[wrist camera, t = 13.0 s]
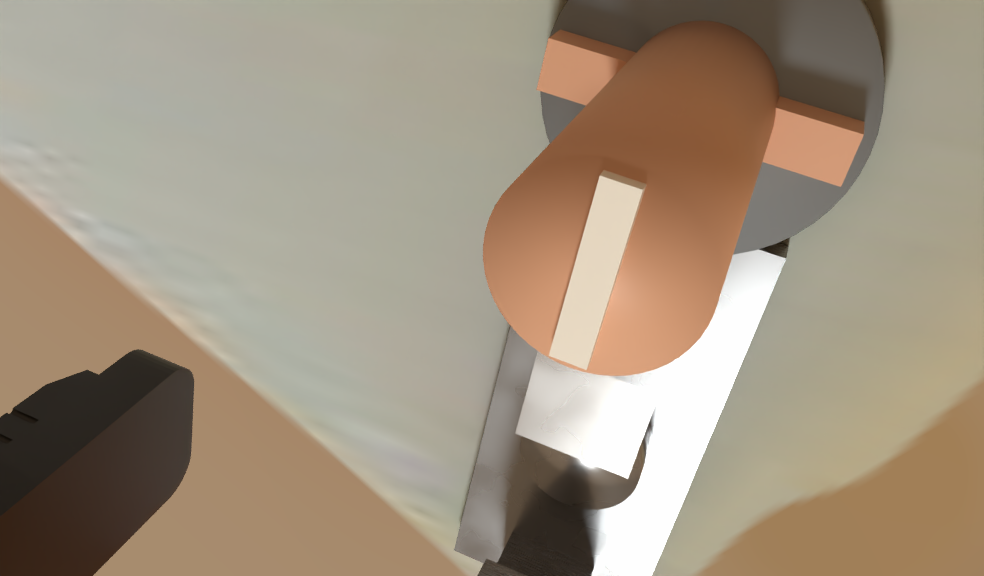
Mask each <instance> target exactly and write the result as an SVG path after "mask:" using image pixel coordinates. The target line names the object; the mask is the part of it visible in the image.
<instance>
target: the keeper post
mask: <svg viewBox="0 0 984 576" xmlns="http://www.w3.org/2000/svg"><path fill="white" fill-rule="evenodd" d="M787 251H788V246H787V245H784V244H781V243H776V244H774V245H770V246H767V247H764V248H761V249H758V250H755V251H750V252H744V253H739V254H733V256H732V260H731V263H730V266H729V269H728V272H727V275H726V279H725V282H724V285H723V288H722V291H721V294H720V297H719V301H718V304H717V307H716V310H715V313H714V315H713V318H712V320H711V322H710V324H709V326H708V327H707V329H706V330H705V332H704V333H703V335H702V336H701V338H700V339H699V340H698V341H697V342H696V343H695V344H694V345H693V346H692V347H691V348H690V349H689V350H688V351H687V352H685V353H684V354H683V355H682V356H680V357H679V358H677V359H676V360H674V361H672V362H670V363H669V364H667V365H665V366H662V367H660V368H657V369H655V370H652V371H648V372H644V373H641V374H634V375H627V376H606V375H596V374H591V373H586V372H582V371H579V370H576V369H572V368H569V367H567V366H565V365H562V364H560V363H558V362H556V361H554V360H552V359H550V358H548V357H547V356H545V355H543V354H541V353H540V352H539V351H537V350H536V349H535V348H533V347H532V346H531V345H529V344H528V343H527V342H526V341H525V340H524V339H523V338H522V337H520V336H519V335H518V334H517V332H516V331H515V330H514V329H513V328H512V327H511V326H510V330H509V334H508V338H507V342H506V346H505V350H504V354H503V358H502V362H501V366H500V370H499V374H498V378H497V382H496V386H495V390H494V394H493V398H492V402H491V405H490V409H489V413H488V417H487V421H486V425H485V429H484V433H483V437H482V441H481V445H480V449H479V453H478V457H477V461H476V465H475V469H474V473H473V477H472V481H471V485H470V489H469V493H468V497H467V501H466V505H465V509H464V513H463V517H462V521H461V525H460V529H459V533H458V537H457V541H456V545H455V549H454V550H455V551H457V552H459V553H462V554H464V555H466V556H469V557H471V558H473V559H475V560H478V561H480V562H482V563H484V564H483V566H482V568H481V570H480V572H479V574H478V576H652V574H653V571H654V569H655V567H656V564H657V562H658V559H659V557H660V555H661V552H662V550H663V548H664V545H665V543H666V541H667V538H668V536H669V533H670V531H671V529H672V526H673V524H674V522H675V519H676V517H677V515H678V512H679V510H680V508H681V505H682V503H683V500H684V498H685V496H686V493H687V491H688V489H689V486H690V484H691V482H692V479H693V477H694V475H695V472H696V470H697V467H698V465H699V463H700V460H701V458H702V456H703V453H704V451H705V449H706V446H707V444H708V442H709V439H710V437H711V434H712V432H713V430H714V427H715V425H716V423H717V420H718V418H719V416H720V413H721V411H722V409H723V406H724V404H725V401H726V399H727V397H728V394H729V392H730V390H731V387H732V385H733V383H734V380H735V378H736V375H737V373H738V371H739V368H740V366H741V364H742V361H743V359H744V357H745V354H746V352H747V350H748V347H749V345H750V342H751V340H752V338H753V335H754V333H755V331H756V328H757V326H758V324H759V321H760V319H761V317H762V314H763V312H764V309H765V307H766V305H767V302H768V300H769V298H770V295H771V293H772V291H773V288H774V286H775V284H776V281H777V279H778V276H779V274H780V272H781V269H782V267H783V265H784V262H785V260H786V256H787Z"/></svg>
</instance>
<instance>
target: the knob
mask: <svg viewBox="0 0 984 576" xmlns="http://www.w3.org/2000/svg"><path fill="white" fill-rule="evenodd" d="M537 90H539V91H542V92H545V93H548V94H551V95H555V96H558V97H561V98H564V99H567V100H570V101H573V102H576V103H580V104H583V105H586V106H585V107H584V108H583V110H582V111H581V112H580V113H579V114H578V115H577V116H576V117H575V118H574V119H573V120H572V121H571V122H570V123H569V124H568V125H567V126H566V127H565V129H564V130H563V131H562V132H561V133H560V134H559V135H558V136H557V137H556V138H555V139H554V140H553V141H552V142H551V143H550V144H549V145H548V146H547V147H546V149H545V150H544V151H543V152H542V153H541V154H540V155H539V156H538V157H537V158H536V159H535V160H534V161H533V162H532V163H531V164H530V165H529V166H528V168H527V169H526V170H525V171H524V172H523V173H522V174H521V175H520V176H519V177H518V178H517V179H516V180H515V181H514V182H513V183H512V184H511V186H510V187H509V188H508V189H507V190H506V191H505V192H504V193H503V195H502V196H501V198H500V199H499V201H498V202H497V204H496V205H495V207H494V209H493V211H492V213H491V216H490V218H489V221H488V224H487V227H486V231H485V237H484V244H483V261H484V269H485V275H486V278H487V282H488V286H489V289H490V291H491V294H492V296H493V299H494V301H495V303H496V304H497V306H498V308H499V310H500V312H501V313H502V315H503V316H504V318H505V319H506V320H507V322H508V323H509V324H510V326H511V327H512V328H513V329H514V330H515V331H516V332H517V334H518V335H519V336H520V337H522V338H523V339H524V340H525V341H526V342H527V343H528V344H529V345H531V346H532V347H533V348H535V349H536V350H537V351H539V352H540V353H541V354H543V355H545V356H547V357H548V358H550V359H552V360H554V361H556V362H558V363H560V364H562V365H565V366H567V367H569V368H572V369H576V370H579V371H582V372H586V373H591V374H596V375H606V376H627V375H634V374H641V373H644V372H648V371H652V370H655V369H657V368H660V367H662V366H665V365H667V364H669V363H670V362H672V361H674V360H676V359H677V358H679V357H680V356H682V355H683V354H684V353H685V352H687V351H688V350H689V349H690V348H691V347H692V346H693V345H694V344H695V343H696V342H697V341H698V340H699V339H700V338H701V336H702V335H703V333H704V332H705V330H706V329H707V327H708V326H709V324H710V322H711V320H712V318H713V315H714V313H715V310H716V307H717V304H718V301H719V297H720V294H721V291H722V288H723V285H724V282H725V279H726V275H727V272H728V269H729V266H730V263H731V260H732V256H733V253H734V250H735V247H736V244H737V241H738V237H739V234H740V231H741V228H742V225H743V222H744V218H745V215H746V212H747V209H748V206H749V203H750V200H751V196H752V193H753V190H754V187H755V184H756V181H757V177H758V174H759V171H760V168H761V165H762V162H764V163H767V164H771V165H774V166H777V167H780V168H783V169H786V170H789V171H792V172H796V173H799V174H802V175H805V176H808V177H811V178H814V179H817V180H821V181H824V182H827V183H830V184H833V185H836V186H839V187H841V186H842V184H843V181H844V179H845V177H846V175H847V172H848V170H849V168H850V165H851V163H852V161H853V159H854V156H855V154H856V152H857V150H858V147H859V145H860V143H861V140H862V138H863V136H864V123H865V122H863V121H860V120H857V119H854V118H850V117H847V116H844V115H840V114H837V113H834V112H830V111H827V110H824V109H821V108H817V107H814V106H811V105H807V104H804V103H801V102H798V101H794V100H791V99H788V98H784V97H781V96H779V85H778V80H777V76H776V73H775V70H774V68H773V65H772V63H771V61H770V60H769V58H768V56H767V55H766V53H765V52H764V51H763V50H762V48H761V47H760V46H759V45H758V44H757V43H756V42H755V41H754V40H753V39H752V38H750V37H749V36H748V35H746V34H745V33H743V32H742V31H740V30H738V29H736V28H734V27H731V26H729V25H726V24H723V23H718V22H714V21H690V22H684V23H680V24H677V25H674V26H671V27H669V28H667V29H665V30H663V31H661V32H659V33H658V34H656V35H655V36H653V37H652V38H651V39H650V40H648V41H647V42H646V43H645V44H644V45H643V46H642V47H641V48H640V49H639V50H638V51H637V53H636V52H633V51H629V50H626V49H623V48H620V47H616V46H613V45H610V44H606V43H603V42H600V41H597V40H593V39H590V38H587V37H583V36H580V35H577V34H573V33H570V32H567V31H564V30H559V31H558V32H556V33H555V34H553V35H552V36H551V37H549V38H548V43H547V47H546V51H545V56H544V60H543V64H542V69H541V73H540V77H539V82H538V86H537Z"/></svg>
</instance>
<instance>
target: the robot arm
mask: <svg viewBox="0 0 984 576" xmlns="http://www.w3.org/2000/svg"><path fill="white" fill-rule="evenodd" d="M193 395H194V378H193V374H192V372H191V371H190V370H188V369H186V368H184V367H182V366H179V365H177V364H174V363H172V362H169V361H167V360H165V359H162V358H160V357H158V356H155V355H153V354H150V353H148V352H145V351H143V350H134V351H132V352H129V353H128V354H126V355H125V356H124V357H122V358H121V359H119V360H118V361H117V362H115V363H114V364H113V365H111V366H110V367H109V368H107V369H106V370H105V371H103V372H102V373H101V374H99V375H98V374H96V373H93V372H91V371H89V370H86V371H83V372H80V373H77V374H74V375H72V376H69V377H66V378H64V379H61V380H58V381H55V382H52V383H50V384H47V385H45V386H43V387H42V388H41V389H39V390H38V391H36V392H35V393H34V394H32V395H31V396H29V397H28V398H27V399H25V400H24V401H22V402H21V403H20V404H18V405H17V406H15V407H14V408H13V411H12V412H11V413H10V414H8V413H6V414H4V415H3V416H1V417H0V576H93V575H94V574H95V573H96V572H97V571H98V570H99V569H100V568H101V567H102V566H103V565H104V564H105V563H106V562H107V561H108V560H109V559H110V558H111V557H112V556H113V555H114V554H115V553H116V552H117V551H118V550H119V549H120V548H121V547H122V546H123V545H124V544H125V543H126V542H127V541H128V539H130V537H131V536H132V535H134V533H135V532H136V531H137V530H138V529H139V528H140V527H141V526H142V525H143V524H144V523H145V522H146V521H147V520H148V519H149V518H150V517H151V516H152V515H153V514H154V513H155V512H156V511H157V510H158V509H159V508H160V507H161V506H162V505H163V504H164V503H165V502H166V501H167V500H168V499H169V498H170V497H171V496H172V495H173V493H174V492H175V491H176V489H177V487H178V486H179V485H180V483H181V481H182V479H183V477H184V475H185V473H186V470H187V468H188V465H189V462H190V456H191V442H192V419H193Z"/></svg>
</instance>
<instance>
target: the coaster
mask: <svg viewBox="0 0 984 576" xmlns="http://www.w3.org/2000/svg"><path fill="white" fill-rule="evenodd" d="M690 21H714V22H718V23H723V24H726V25H729V26H731V27H734V28H736V29H738V30H740V31H742V32H743V33H745V34H746V35H748V36H749V37H750V38H752V39H753V40H754V41H755V42H756V43H757V44H758V45H759V46H760V47H761V48H762V50H763V51H764V52H765V53H766V55H767V56H768V58H769V60H770V61H771V63H772V65H773V68H774V70H775V73H776V76H777V80H778V85H779V96H781V97H784V98H788V99H791V100H794V101H798V102H801V103H804V104H807V105H811V106H814V107H817V108H821V109H824V110H827V111H830V112H834V113H837V114H840V115H844V116H847V117H850V118H854V119H857V120H860V121H863V122H865V123H864V136H863V138H862V140H861V143H860V145H859V147H858V150H857V152H856V154H855V156H854V159H853V161H852V163H851V165H850V168H849V170H848V172H847V175H846V177H845V179H844V181H843V184H842V186H841V187H839V186H836V185H833V184H830V183H827V182H824V181H821V180H817V179H814V178H811V177H808V176H805V175H802V174H799V173H796V172H792V171H789V170H786V169H783V168H780V167H777V166H774V165H771V164H767V163H764V162H762V165H761V168H760V171H759V174H758V177H757V181H756V184H755V187H754V190H753V193H752V196H751V200H750V203H749V206H748V209H747V212H746V215H745V218H744V222H743V225H742V228H741V231H740V234H739V237H738V241H737V244H736V247H735V250H734V253H733V254H739V253H744V252H750V251H755V250H758V249H761V248H764V247H767V246H770V245H774V244H776V243H779V242H781V241H783V240H785V239H787V238H789V237H791V236H794V235H796V234H797V233H799V232H801V231H802V230H804V229H805V228H807V227H808V226H810V225H812V224H813V223H815V222H816V221H817V220H818V219H820V218H821V217H822V216H823V215H824V214H826V213H827V212H828V211H829V210H831V209H832V208H833V207H834V205H835V204H836V203H837V202H838V201H839V200H840V199H841V198H842V197H843V196H844V195H845V194H846V193H847V191H848V190H849V189H850V187H851V186H852V184H853V183H854V182H855V180H856V179H857V177H858V176H859V175H860V173H861V171H862V169H863V167H864V165H865V163H866V161H867V160H868V158H869V156H870V154H871V151H872V148H873V145H874V143H875V140H876V137H877V135H878V131H879V126H880V122H881V117H882V112H883V102H884V67H883V54H882V49H881V45H880V40H879V36H878V31H877V29H876V26H875V24H874V21H873V18H872V16H871V13H870V11H869V9H868V7H867V5H866V3H865V2H864V0H568V1H567V3H566V4H565V6H564V8H563V9H562V11H561V13H560V14H559V17H558V19H557V21H556V23H555V25H554V28H553V30H552V32H551V35H550V37H551V36H552V35H553V34H555V33H556V32H558V31H559V30H564V31H567V32H570V33H573V34H577V35H580V36H583V37H587V38H590V39H593V40H597V41H600V42H603V43H606V44H610V45H613V46H616V47H620V48H623V49H626V50H629V51H633V52H636V53H637V51H638V50H639V49H640V48H641V47H642V46H643V45H644V44H645V43H646V42H647V41H648V40H650V39H651V38H652V37H653V36H655V35H656V34H658V33H659V32H661V31H663V30H665V29H667V28H669V27H671V26H674V25H677V24H680V23H684V22H690ZM541 103H542V114H543V119H544V124H545V128H546V133H547V136H548V139H549V142H550V143H551V142H552V141H553V140H554V139H555V138H556V137H557V136H558V135H559V134H560V133H561V132H562V131H563V130H564V129H565V127H566V126H567V125H568V124H569V123H570V122H571V121H572V120H573V119H574V118H575V117H576V116H577V115H578V114H579V113H580V112H581V111H582V110H583V108H584V107H585V106H586V105H583V104H580V103H576V102H573V101H570V100H567V99H564V98H561V97H558V96H555V95H551V94H548V93H545V92H542V91H541Z"/></svg>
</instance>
